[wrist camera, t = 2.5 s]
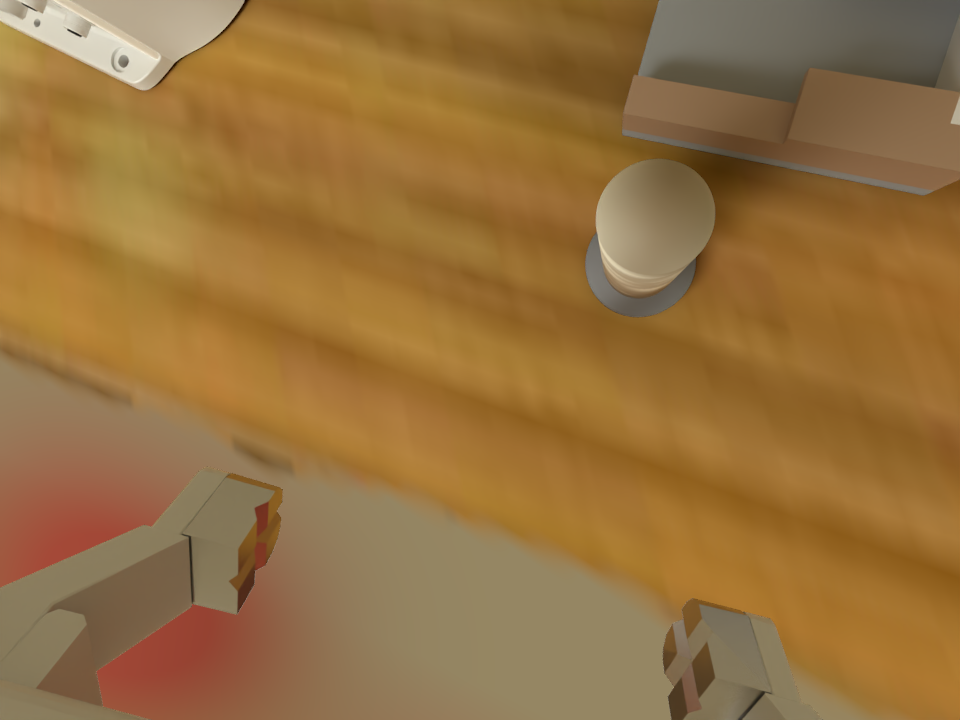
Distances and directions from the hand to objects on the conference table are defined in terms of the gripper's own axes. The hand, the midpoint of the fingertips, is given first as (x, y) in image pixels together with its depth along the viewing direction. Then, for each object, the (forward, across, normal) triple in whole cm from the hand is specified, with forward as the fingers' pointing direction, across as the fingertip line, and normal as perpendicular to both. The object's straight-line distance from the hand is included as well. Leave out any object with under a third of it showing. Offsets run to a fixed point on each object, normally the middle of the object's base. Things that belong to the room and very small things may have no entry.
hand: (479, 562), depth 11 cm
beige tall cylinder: (+25, -6, +2) cm, 26 cm away
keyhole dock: (+30, -11, -11) cm, 34 cm away
